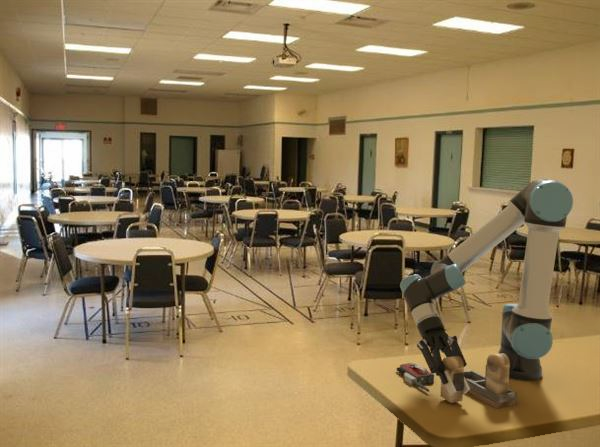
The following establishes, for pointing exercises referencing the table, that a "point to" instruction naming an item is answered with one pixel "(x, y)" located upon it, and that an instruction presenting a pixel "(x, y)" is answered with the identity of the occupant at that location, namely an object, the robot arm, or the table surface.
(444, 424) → the table surface
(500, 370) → the rail
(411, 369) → the walkie-talkie
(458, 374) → the block
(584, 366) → the table surface
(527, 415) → the table surface
